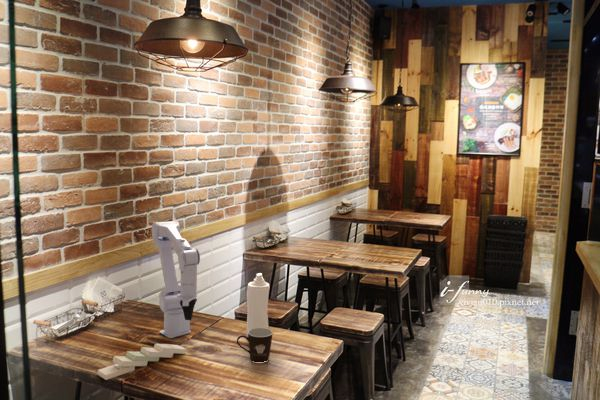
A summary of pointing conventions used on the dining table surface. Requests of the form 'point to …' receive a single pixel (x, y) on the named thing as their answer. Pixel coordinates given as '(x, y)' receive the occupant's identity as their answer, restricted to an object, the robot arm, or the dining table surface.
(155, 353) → the domino
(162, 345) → the domino
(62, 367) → the dining table surface
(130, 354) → the domino
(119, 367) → the domino
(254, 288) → the spray can
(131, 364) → the domino
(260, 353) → the coffee mug
